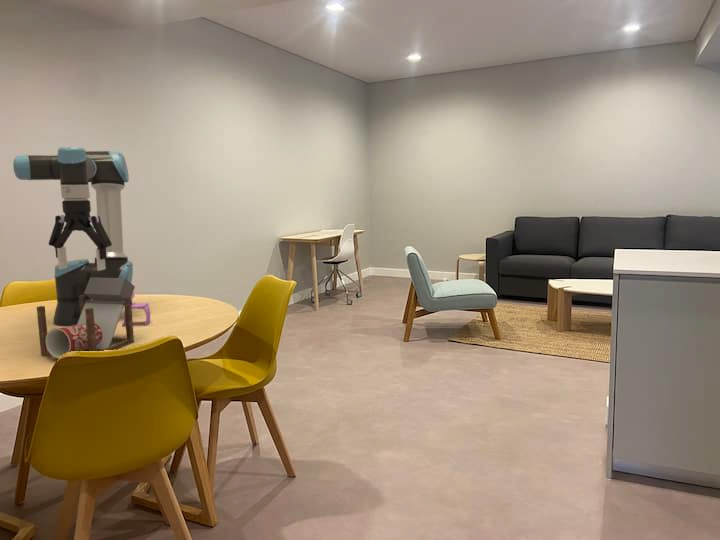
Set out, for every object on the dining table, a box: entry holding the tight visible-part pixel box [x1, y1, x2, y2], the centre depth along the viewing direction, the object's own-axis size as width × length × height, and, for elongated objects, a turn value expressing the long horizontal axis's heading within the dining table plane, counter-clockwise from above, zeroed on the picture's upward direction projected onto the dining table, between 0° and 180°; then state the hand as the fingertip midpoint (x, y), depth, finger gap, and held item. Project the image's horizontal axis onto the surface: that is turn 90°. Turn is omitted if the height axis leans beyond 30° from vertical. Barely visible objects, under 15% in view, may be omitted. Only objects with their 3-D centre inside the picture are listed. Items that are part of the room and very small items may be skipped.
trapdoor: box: [77, 277, 136, 351], centre depth 175 cm, size 14×24×6 cm
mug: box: [46, 323, 102, 359], centre depth 163 cm, size 13×9×14 cm
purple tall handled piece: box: [121, 291, 151, 328], centre depth 201 cm, size 8×9×15 cm
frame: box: [36, 295, 135, 358], centre depth 169 cm, size 18×19×15 cm
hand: (82, 269), depth 167 cm, fingers open, 13 cm apart
